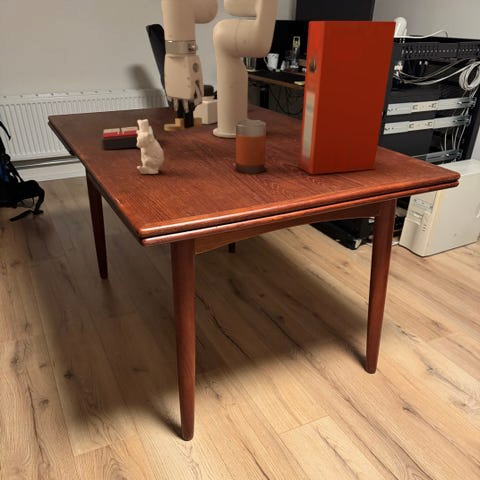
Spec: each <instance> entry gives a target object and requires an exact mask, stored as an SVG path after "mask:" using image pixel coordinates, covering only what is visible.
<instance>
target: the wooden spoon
mask: <svg viewBox="0 0 480 480" xmlns="http://www.w3.org/2000/svg"><path fill="white" fill-rule="evenodd" d="M163 126H164V131H166V132H181V131H184V130H193V129H202V128H203V124H202V118H200V117H194V127H191V128H187V129H186V128H184V118H178V119H177V118H175V121H174V123H166V124H164V125H163Z"/></svg>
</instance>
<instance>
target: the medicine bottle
mask: <svg viewBox="0 0 480 480" xmlns="http://www.w3.org/2000/svg"><path fill="white" fill-rule="evenodd" d="M203 86H204V96H203V97H202V101H203V103H202V104H200V105H197V107H196V108H195V111H193V115H194V117H200V118H202V125H211V124H215V123H218V111H217V99H214V98H215V87H214V86H213V85H212V84H203Z"/></svg>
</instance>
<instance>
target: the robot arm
mask: <svg viewBox="0 0 480 480" xmlns="http://www.w3.org/2000/svg"><path fill="white" fill-rule="evenodd" d="M160 3H161V4H160V5H161V13H162V16H163V17H162V18H163V19H162V20H163V30H164V43H165V55H164V89H165V93H166V100H168V101H169V102H170V103H171V104H172V105H173V108H174V111H175V112H176V119H178V118H184V128H186V130H188V129H187V128H191V127H194V115H193V111H195V108H196V107H197V105H200V104H202V103H203V101H202V97H203V96H204V86H203V85H204V77H203V70H202V63H201V58H200V55H198V54H197V51H198V50H199V46H198V44H197V41H196V39H197V37H196V25H203V24H205V25H206V24H209V23H211V22H212V21H214V19H215V18H216V17H217V15H218V11H219V1H218V0H161V1H160ZM223 8H224V11H225V12H226V13H227V15H229V16H232V17H235V18H226V19H222V20H220V21H217V23H216V24H215V25H214V27H213V30H212V43H213V48H214V54H215V64H216V95H217V96H216V100H217V111H218V122H217V127H216V128H214V129H213V130H212V134H213V135H214V136H215V137H219V138H225V139H236V123H238V122H239V121H245V120H251V118H248V105H249V103H248V102H249V101H248V99H249V98H248V97H249V95H248V93H249V91H248V90H249V73H248V69H247V67H246V65H245V62H244V61H243V59H242V58H253V59H261V58H264V57H266V56H267V55H268V54H269V53H270V51H271V47H272V44H273V38H274V32H275V27H276V26H275V25H276V22H277V16H278V8H279V0H223ZM236 17H237V18H236ZM244 18H249V19H244ZM250 18H255V19H250ZM255 120H256V121H261V120H260V119H255Z"/></svg>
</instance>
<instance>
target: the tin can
mask: <svg viewBox="0 0 480 480" xmlns="http://www.w3.org/2000/svg"><path fill="white" fill-rule="evenodd" d="M256 120H257V119H255V120H254V119H250V120H245V121H239V122H238V123H236V138H235V171H236V172H238V173H240V174H243V175H244V174H245V175H255V174H256V175H258V174H261V173H264V172H265V169H266V167H265V166H266V165H265V164H266V148H267V147H266V144H267V142H266V141H267V123H266V122H265V121H263V120H260V121H256Z"/></svg>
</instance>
